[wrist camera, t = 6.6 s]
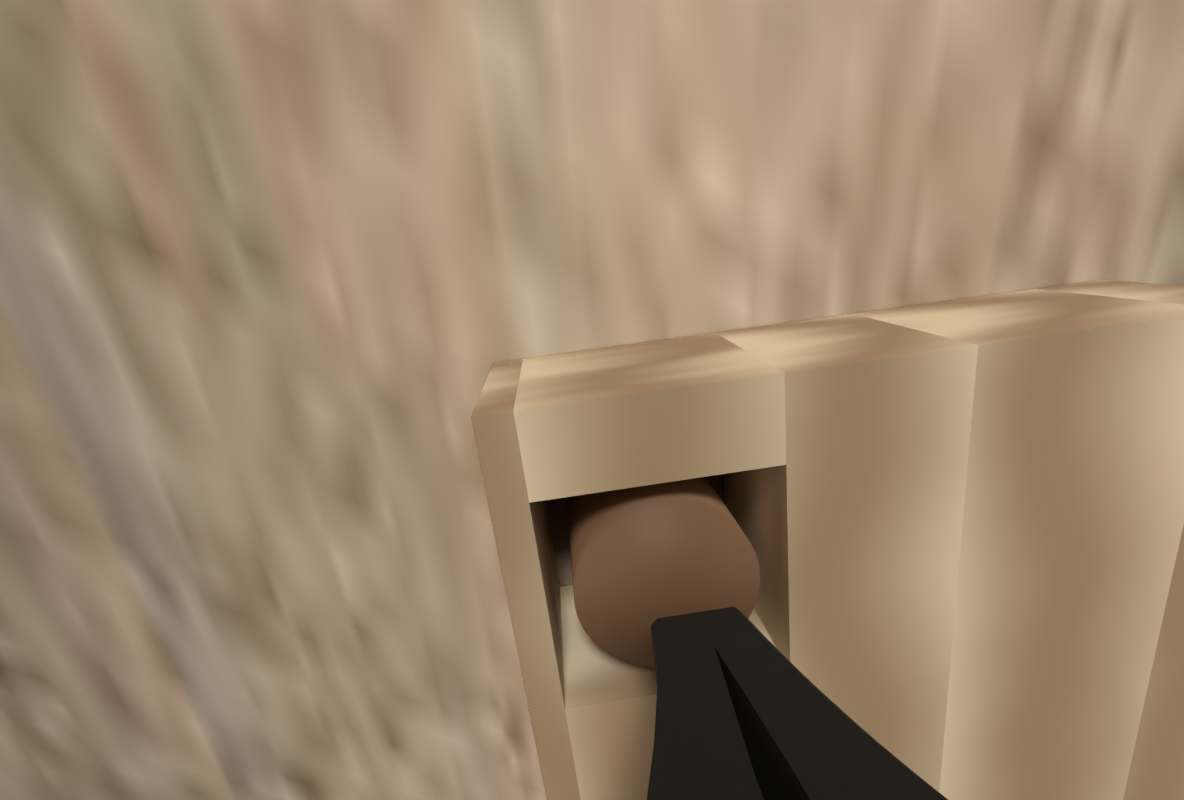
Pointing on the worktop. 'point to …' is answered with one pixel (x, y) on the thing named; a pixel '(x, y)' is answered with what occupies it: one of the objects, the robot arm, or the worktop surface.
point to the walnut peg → (655, 561)
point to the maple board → (888, 530)
